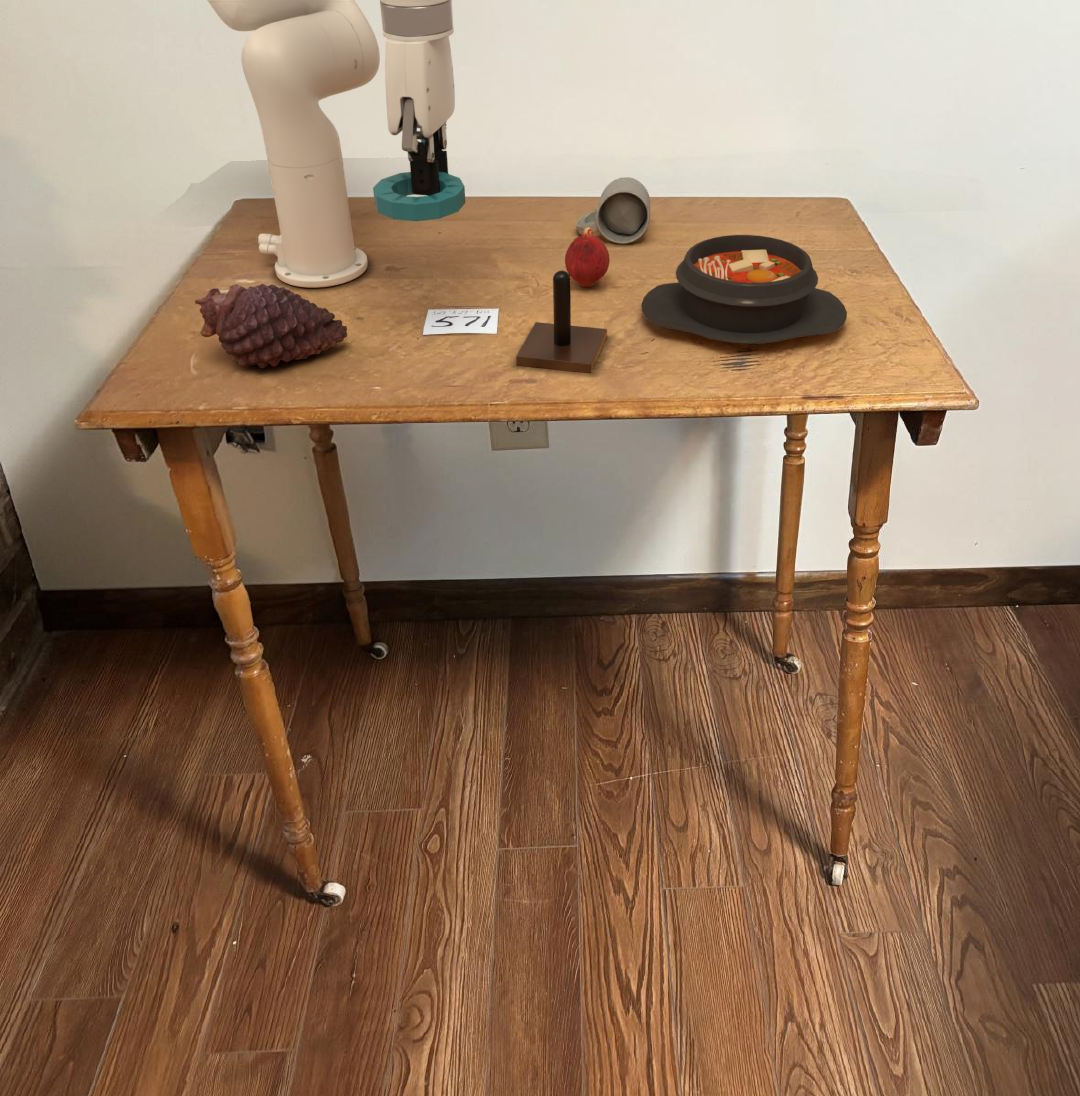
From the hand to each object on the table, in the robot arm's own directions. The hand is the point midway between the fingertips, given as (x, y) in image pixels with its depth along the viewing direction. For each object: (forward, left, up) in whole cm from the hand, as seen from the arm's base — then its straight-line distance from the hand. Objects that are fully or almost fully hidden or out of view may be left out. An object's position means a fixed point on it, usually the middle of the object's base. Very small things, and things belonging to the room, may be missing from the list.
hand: (430, 188), depth 127 cm
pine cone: (-16, -13, -17) cm, 27 cm away
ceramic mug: (+16, +32, -17) cm, 39 cm away
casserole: (+37, +8, -17) cm, 41 cm away
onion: (+16, +14, -17) cm, 27 cm away
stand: (+17, -4, -17) cm, 24 cm away
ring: (0, -4, 0) cm, 4 cm away
